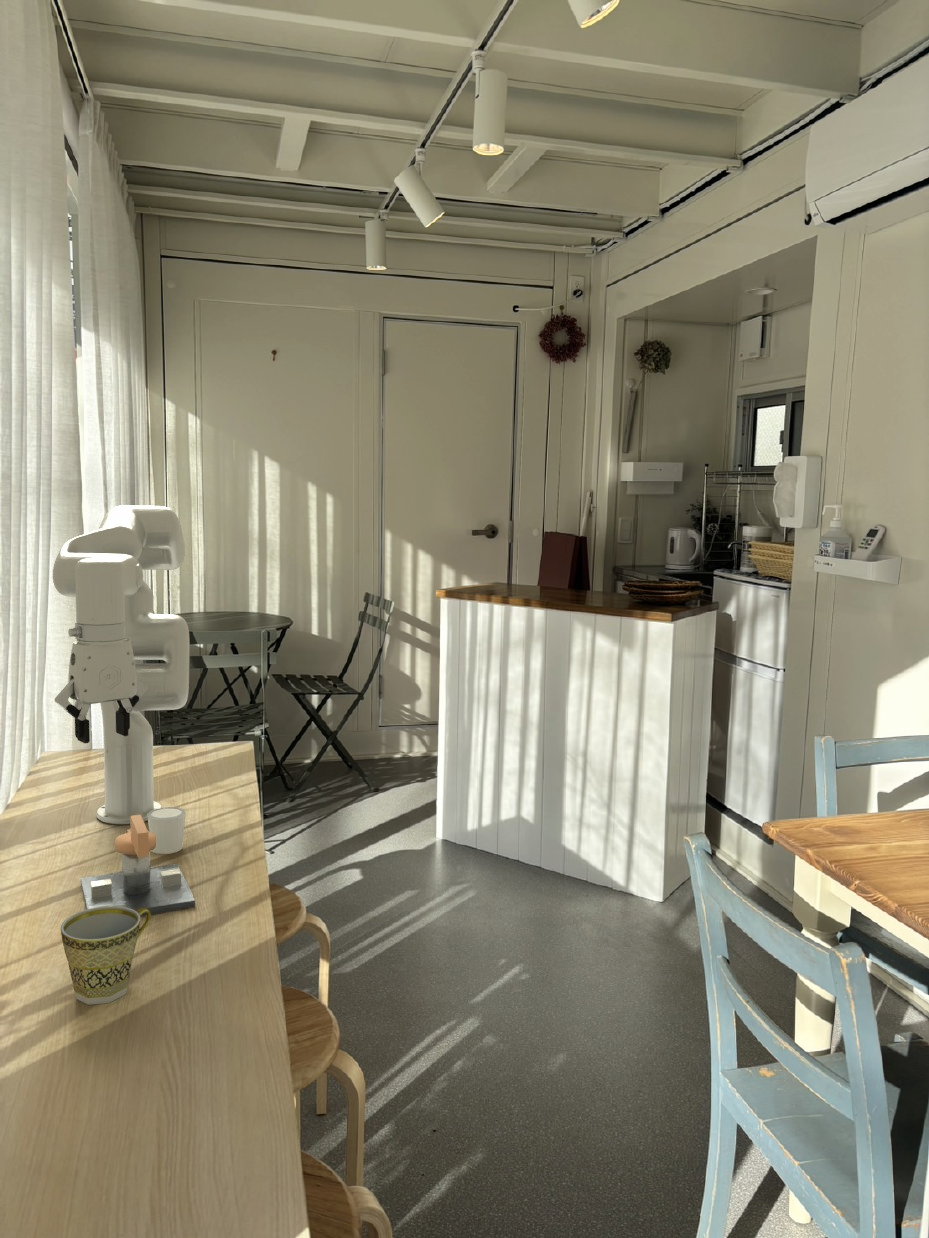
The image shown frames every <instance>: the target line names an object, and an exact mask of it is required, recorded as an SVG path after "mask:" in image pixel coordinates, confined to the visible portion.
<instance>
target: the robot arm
mask: <svg viewBox="0 0 929 1238" xmlns="http://www.w3.org/2000/svg"><path fill="white" fill-rule="evenodd" d="M185 554H186V545H185V540H184V535H183V531H182V525H181V522H180V520H179V517H178V515H177V514H176V512H174V510H173V509H172V508H170V507H166V506H163V505H162V506H160V505H132V504H131V505H129V504H128V505H127V504H125V505H117V506H115V507H112V508H111V509H109V510H108V511H107V512H106V513H105V515H104V517H103V519H102V521H101V524H100V525H99V527H98V529H97V530H93V531H91V532H88V533H86V534H82V535H79V536H76V537H74V538H71V539H69V540H68V541H66V542H65V543H64V544H63V545H62V546H61V548H60V550H59V551H58V553H57V555H56V558H55V560H54V564H53V568H52V582H53V585H54V588H55V589H56V591H57V592H58V593H59V594H60V595H63V596H65V597H70V598H75V612H76V613H75V614H76V615H75V617H76V618H75V619H76V620H75V621H76V623H75V624H74V625H75V626H74V627H73V628H69V629H68V631H67V632H68V636H69V637H71V638H72V637H74V638H75V639H76V641H73V642H72V646H71V650H70V651H71V652H70V656H69V657H70V658H69V665H68V681H67V684H66V685H64V687H63V689H61V691H60V692H59V693H58V694H57V695H56V697H55V698H54V702H55V703H56V704H57V705H58V706H60V707H61V708H62V709H63V710H64V711H65V712H67V713H68V714H69V716H71V717H72V718H74V735H75V738H77V741H79V742H80V743H83V744H89V743H90V741H91V739H90V720H89V719H88V718H87V715H88V712H89V710H90V707H91V705H92V704H93V705H95V704H100V709H101V716H102V730H103V771H104V773H103V776H104V779H103V780H104V804H103V805H102V806H100V807H99V808H97V810H96V817H97V819H98V820H99V821H101V822H103V823H106V824H110V825H111V824H112V825H131V822H130V816H133V815H141V817H142V819H143V821H144V823H145V822H148V815H147V814H148V813H149V812H150V811H152V810H154V809H158V808H163V807H162V804H161V803H159V802H157V801H155V800H154V793H155V792H154V791H155V790H154V734H153V733H154V732H153V729H152V726H151V724H150V723H149V721H148V720H147V719H146V717H145V716H144V715H143V714H142V713H141V712H143V711H144V712H145V711H170V710H174V711H175V710H179V709H182V708H183V707H185V706H186V703H187V701H188V698H189V690H190V686H189V685H190V631H189V626H188V623H187V621H186V620H185V618H183V617H182V616H180V615H177V614H171V613H170V614H169V613H168V614H167V613H166V614H163V613H162V614H161V613H154V600H155V599H154V592H153V591H152V589H151V588H150V586H149V584H147V583H146V581H144V572H143V570H144V571H145V570H147V571H152V570H153V571H172V570H173V571H174V570H177V569H179V568H180V567H181V566H182V564H183V562H184V561H185V556H186V555H185ZM137 660H139V661H140V660H141V661H142V660H144V661H149V660H150V661H151V660H153V661H155V660H156V661H157V660H158V661H159V660H160V661H161V660H162V661H165V663H143V662H142V663H136V662H135V661H137ZM69 699H72V700H74V701H75V703H74V705H73V704H72V703H71V702H69Z"/></svg>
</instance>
